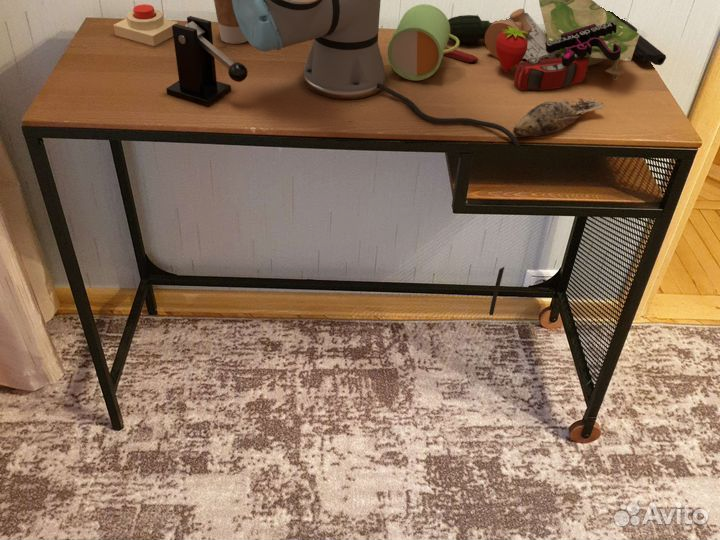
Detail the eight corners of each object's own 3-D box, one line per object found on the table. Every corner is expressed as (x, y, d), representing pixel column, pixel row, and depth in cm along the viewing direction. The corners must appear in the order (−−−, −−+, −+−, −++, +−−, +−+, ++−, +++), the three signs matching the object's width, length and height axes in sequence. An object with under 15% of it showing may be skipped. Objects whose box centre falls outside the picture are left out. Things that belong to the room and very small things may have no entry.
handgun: (696, 73, 150) (640, 66, 144) (621, 17, 170) (569, 8, 164) (705, 57, 148) (648, 49, 142) (628, 2, 168) (576, -7, 162)
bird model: (503, 106, 120) (497, 132, 123) (530, 121, 117) (523, 148, 120) (585, 80, 130) (577, 105, 134) (611, 93, 127) (603, 119, 130)
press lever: (247, 81, 125) (253, 68, 123) (236, 88, 123) (243, 75, 121) (189, 32, 125) (195, 17, 122) (178, 38, 123) (183, 24, 120)
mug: (399, 55, 146) (387, 80, 137) (399, 3, 140) (387, 26, 131) (461, 58, 144) (454, 84, 135) (464, 6, 137) (456, 29, 128)
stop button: (159, 15, 146) (158, 7, 145) (146, 22, 143) (145, 13, 142) (143, 11, 147) (142, 2, 146) (130, 17, 144) (128, 9, 143)
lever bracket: (231, 91, 131) (226, 22, 122) (208, 107, 126) (201, 36, 117) (190, 79, 134) (182, 10, 125) (166, 94, 129) (156, 24, 120)
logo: (611, 18, 137) (635, 46, 130) (610, 25, 138) (634, 54, 132) (543, 40, 137) (564, 69, 131) (543, 47, 138) (564, 76, 132)
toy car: (516, 54, 135) (527, 66, 131) (586, 53, 139) (599, 65, 135) (508, 80, 138) (519, 94, 135) (577, 79, 142) (589, 92, 139)
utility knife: (474, 64, 143) (478, 61, 145) (475, 59, 142) (479, 56, 144) (422, 49, 148) (427, 46, 149) (423, 44, 147) (428, 41, 148)
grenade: (442, 43, 152) (497, 45, 154) (448, 42, 146) (506, 43, 148) (443, 15, 151) (499, 17, 152) (450, 13, 145) (508, 14, 146)
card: (551, -15, 154) (551, -18, 153) (671, 2, 141) (671, -3, 140) (502, 47, 144) (501, 43, 143) (625, 70, 131) (626, 66, 131)
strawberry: (515, 62, 145) (524, 13, 138) (526, 79, 139) (537, 29, 133) (486, 62, 144) (495, 13, 137) (497, 80, 138) (506, 29, 132)
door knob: (500, 6, 149) (515, 41, 153) (478, 29, 144) (494, 64, 147) (533, -6, 143) (548, 31, 147) (511, 18, 138) (528, 54, 142)
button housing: (179, 32, 149) (177, 13, 146) (154, 46, 143) (151, 27, 141) (141, 22, 152) (138, 3, 149) (115, 35, 146) (111, 16, 144)
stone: (572, 51, 143) (524, 62, 142) (570, 66, 146) (523, 77, 145) (527, 4, 158) (484, 14, 157) (526, 19, 161) (484, 28, 160)
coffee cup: (207, 43, 145) (200, -34, 136) (223, 27, 152) (217, -48, 142) (247, 49, 144) (242, -28, 134) (261, 32, 150) (258, -42, 141)
